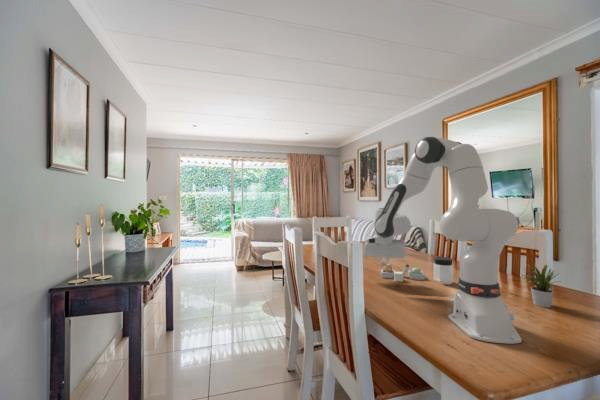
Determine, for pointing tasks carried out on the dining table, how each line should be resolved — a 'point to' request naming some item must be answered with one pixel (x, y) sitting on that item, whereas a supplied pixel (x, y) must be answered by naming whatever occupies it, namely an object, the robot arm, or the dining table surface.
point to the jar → (443, 270)
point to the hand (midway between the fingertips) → (383, 266)
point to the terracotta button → (388, 268)
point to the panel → (410, 274)
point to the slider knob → (398, 276)
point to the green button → (416, 270)
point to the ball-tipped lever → (405, 269)
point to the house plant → (541, 287)
